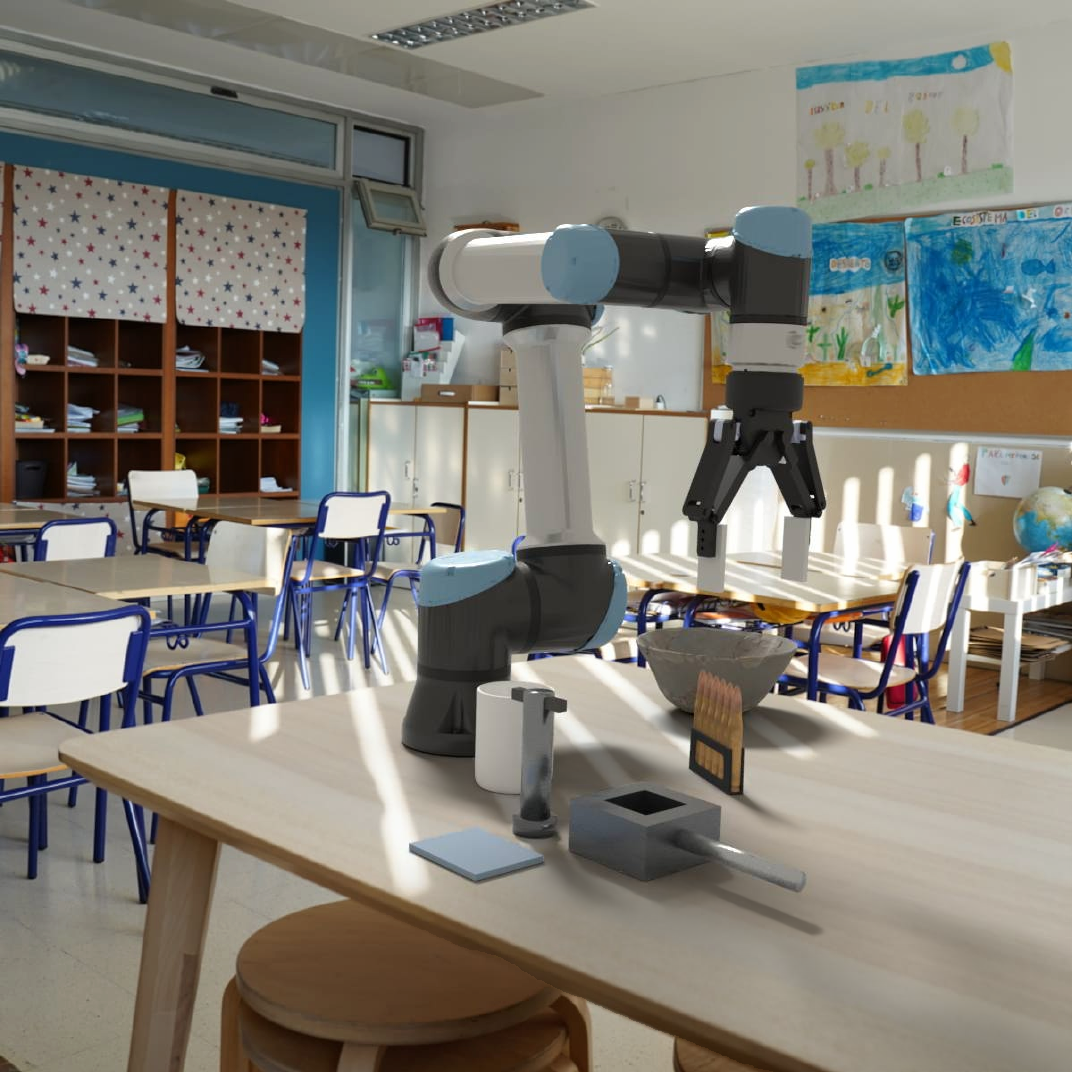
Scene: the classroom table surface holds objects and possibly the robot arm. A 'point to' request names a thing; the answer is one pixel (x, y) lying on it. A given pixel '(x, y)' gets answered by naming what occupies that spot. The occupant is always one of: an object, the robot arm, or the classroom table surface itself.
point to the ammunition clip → (718, 735)
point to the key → (536, 762)
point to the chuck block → (661, 835)
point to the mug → (500, 736)
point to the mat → (476, 853)
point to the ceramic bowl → (715, 661)
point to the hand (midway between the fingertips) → (753, 585)
